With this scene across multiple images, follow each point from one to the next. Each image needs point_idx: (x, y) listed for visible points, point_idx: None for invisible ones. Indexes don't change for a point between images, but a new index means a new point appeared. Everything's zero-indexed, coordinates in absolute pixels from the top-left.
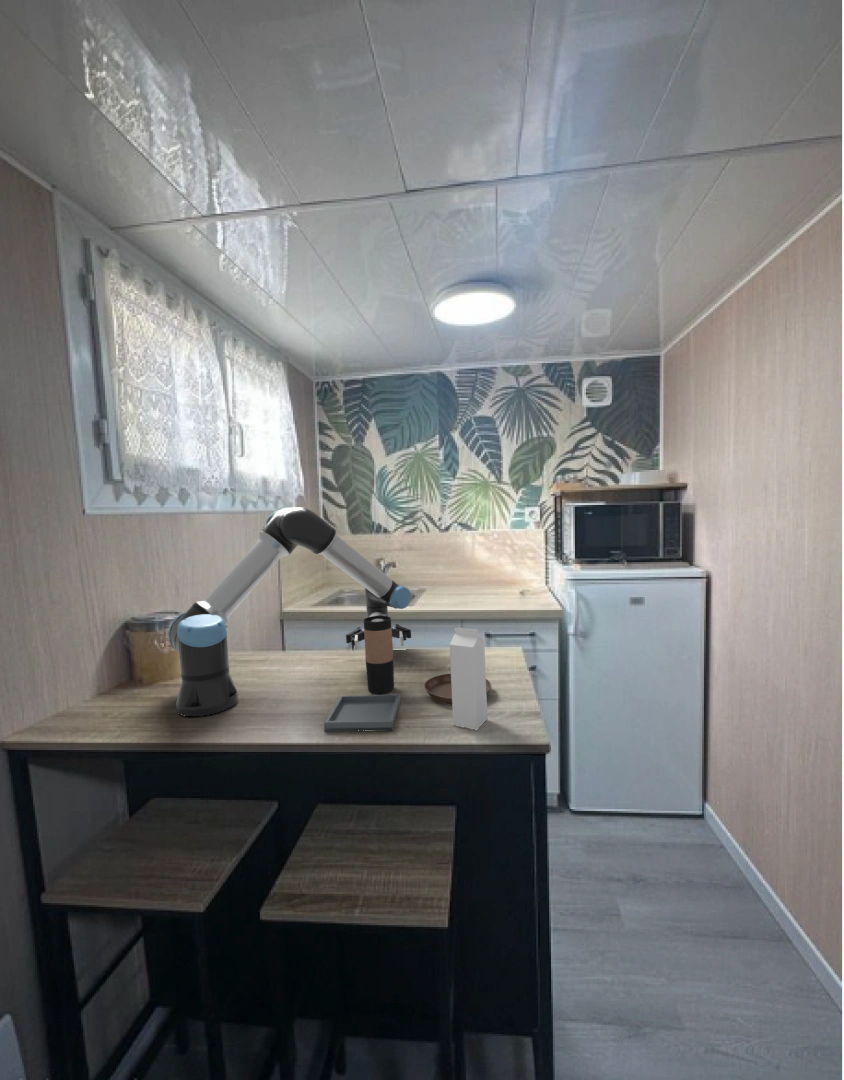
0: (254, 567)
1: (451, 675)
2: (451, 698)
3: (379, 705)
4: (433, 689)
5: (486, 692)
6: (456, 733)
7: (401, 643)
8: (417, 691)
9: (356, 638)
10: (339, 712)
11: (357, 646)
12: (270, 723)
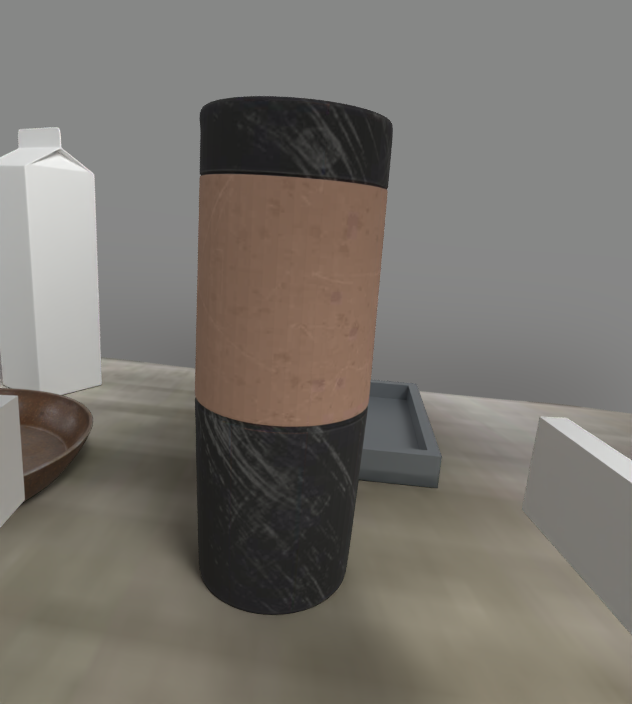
0: None
1: (96, 258)
2: (42, 393)
3: None
4: None
5: None
6: (113, 373)
7: (15, 472)
8: (88, 519)
9: (609, 459)
10: (406, 431)
11: (529, 479)
12: None
